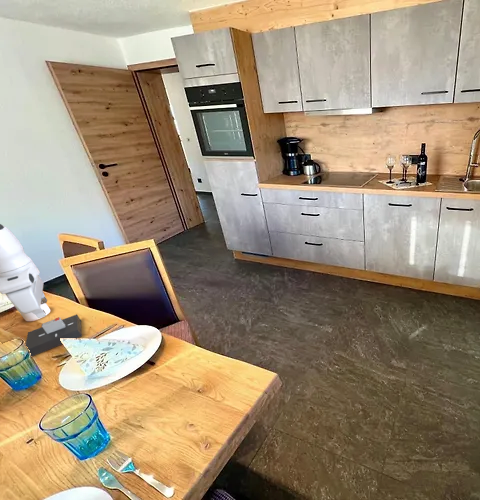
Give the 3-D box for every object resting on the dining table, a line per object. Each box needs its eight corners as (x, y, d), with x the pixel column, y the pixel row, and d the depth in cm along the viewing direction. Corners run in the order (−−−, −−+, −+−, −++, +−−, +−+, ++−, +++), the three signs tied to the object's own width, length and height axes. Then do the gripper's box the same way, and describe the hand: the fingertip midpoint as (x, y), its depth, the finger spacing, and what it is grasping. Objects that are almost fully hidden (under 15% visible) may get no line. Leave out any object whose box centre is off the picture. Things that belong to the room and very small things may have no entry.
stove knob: (47, 334, 96) (41, 325, 94) (47, 331, 97) (41, 323, 96) (65, 327, 99) (59, 319, 97) (65, 324, 100) (59, 316, 98)
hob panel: (29, 357, 92) (24, 350, 90) (32, 338, 99) (27, 331, 98) (82, 336, 99) (77, 329, 97) (81, 320, 106) (76, 313, 105)
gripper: (7, 265, 93) (32, 299, 99) (-3, 292, 79) (27, 330, 86) (34, 258, 96) (56, 291, 103) (28, 283, 82) (55, 319, 89)
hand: (43, 309), depth 94 cm, fingers open, 8 cm apart
